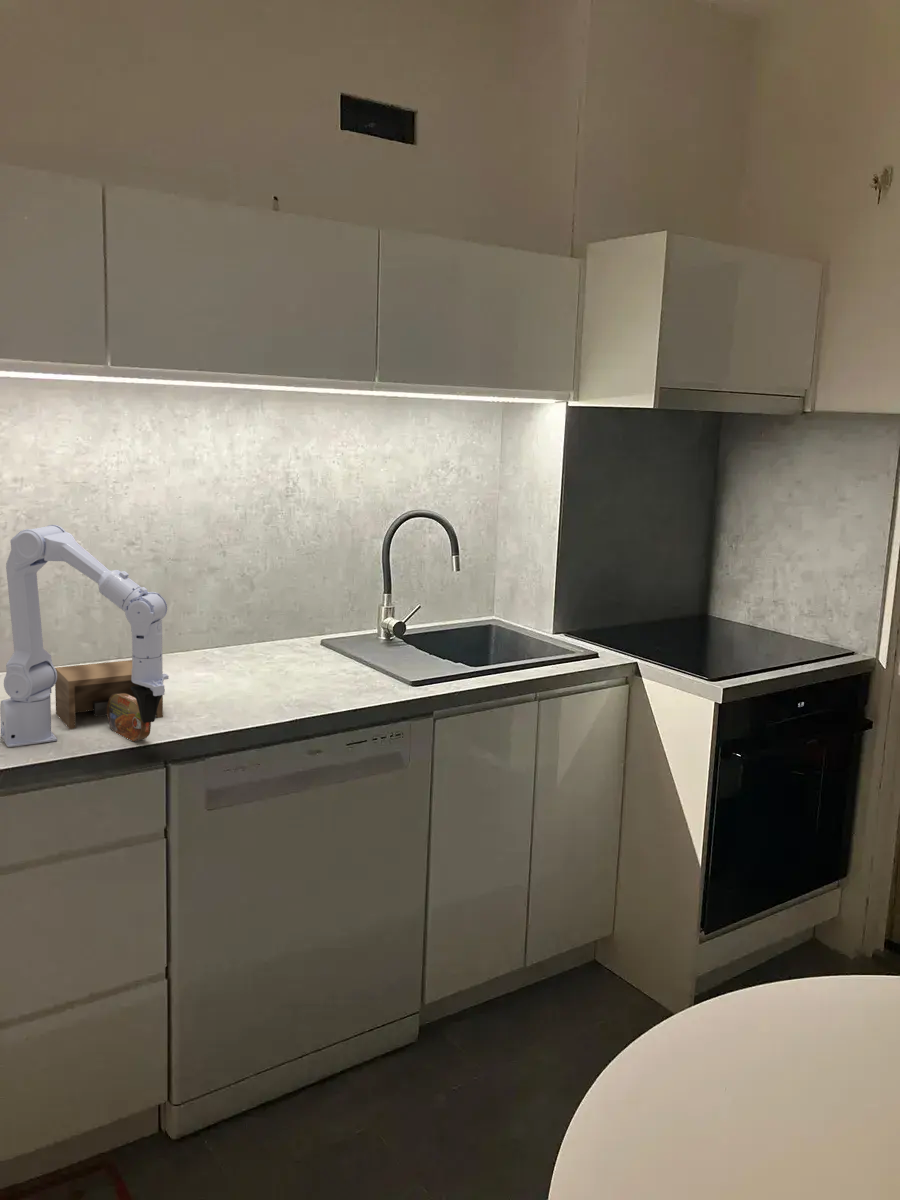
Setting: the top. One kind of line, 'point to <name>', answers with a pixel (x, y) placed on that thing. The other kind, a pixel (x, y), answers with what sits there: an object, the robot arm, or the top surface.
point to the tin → (126, 717)
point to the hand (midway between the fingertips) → (148, 721)
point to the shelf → (92, 688)
